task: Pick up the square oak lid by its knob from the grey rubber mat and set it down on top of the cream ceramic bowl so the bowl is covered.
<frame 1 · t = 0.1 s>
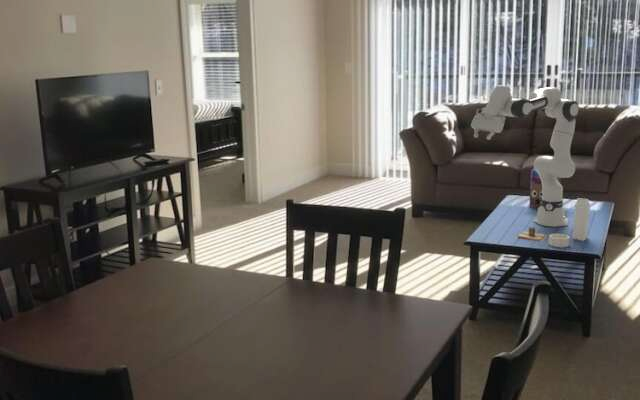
hand: (481, 138, 360), 54 cm above the table, tool tilted 30°, fingers open, 8 cm apart
mat: (531, 237, 372), on the table
cereal box: (544, 207, 438), on the table
bowl: (558, 245, 357), on the table
lid: (531, 236, 372), resting on mat
milk: (580, 239, 369), on the table
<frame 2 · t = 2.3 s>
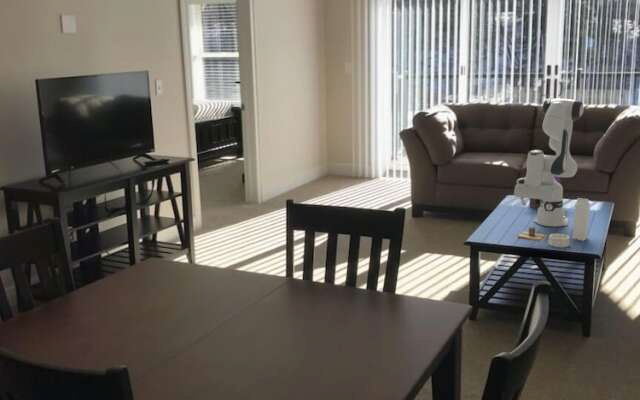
hand: (532, 206, 368), 17 cm above the table, tool pointing down, fingers open, 8 cm apart
nothing on the table moved.
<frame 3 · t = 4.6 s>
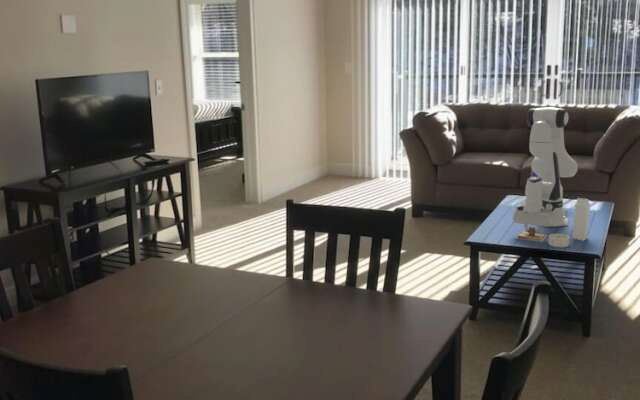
hand: (531, 232, 371), 3 cm above the table, tool pointing down, fingers closed on lid, 3 cm apart
lid: (531, 236, 372), resting on mat, touching gripper
everything else where it was.
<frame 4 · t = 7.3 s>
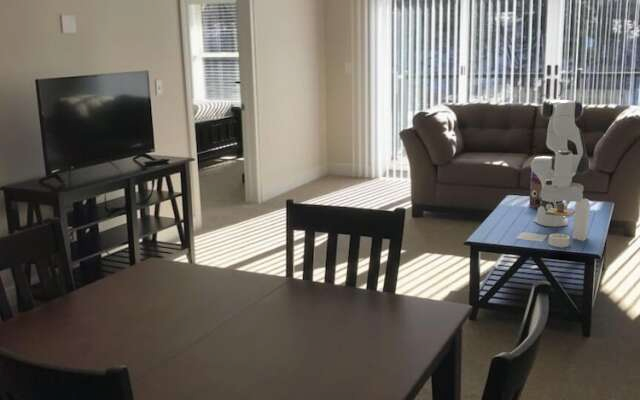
hand: (560, 208, 353), 20 cm above the table, tool pointing down, fingers closed on lid, 3 cm apart
lid: (560, 213, 353), point 17 cm above the table, touching gripper
everything else where it was.
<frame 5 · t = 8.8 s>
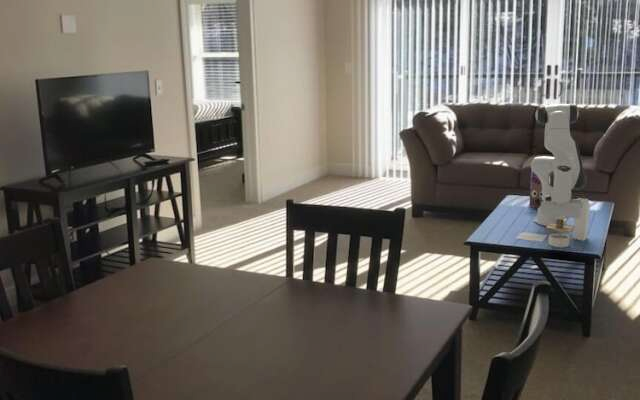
hand: (560, 224, 355), 11 cm above the table, tool pointing down, fingers closed on lid, 3 cm apart
lid: (559, 229, 355), point 9 cm above the table, touching gripper
everything else where it was.
when the fingers open (9 cm above the table, at t = 9.9 s): lid drops 1 cm, resting on bowl.
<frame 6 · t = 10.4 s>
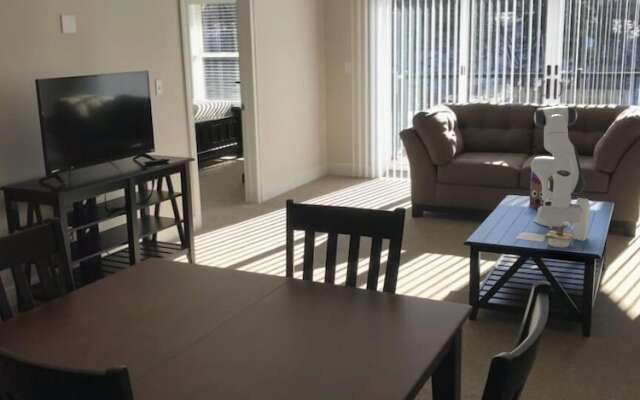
hand: (559, 228, 355), 9 cm above the table, tool pointing down, fingers open, 8 cm apart
bowl: (558, 245, 357), on the table, touching lid
lid: (559, 236, 356), point 5 cm above the table, touching bowl
everything else where it was.
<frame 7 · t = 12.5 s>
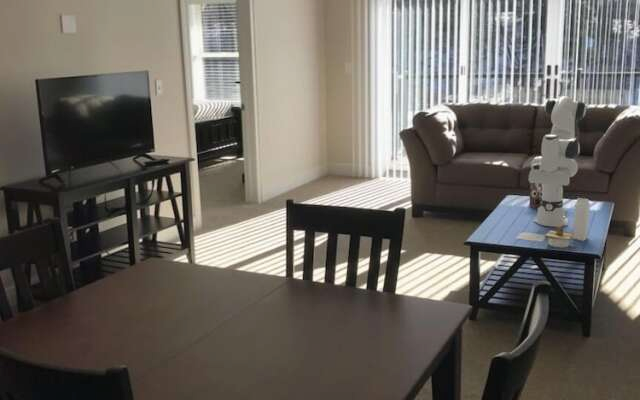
hand: (548, 192, 359), 26 cm above the table, tool pointing down, fingers open, 8 cm apart
nothing on the table moved.
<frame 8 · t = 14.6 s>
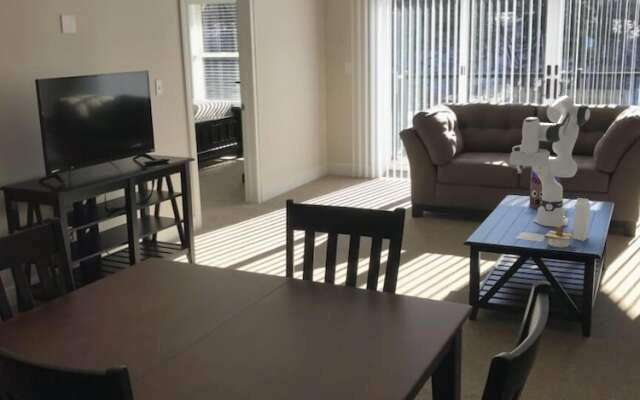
hand: (528, 174, 368), 34 cm above the table, tool pointing down, fingers open, 8 cm apart
nothing on the table moved.
at the end: lid 0.4 cm off-centre on the bowl, point 5.0 cm above the bowl's base; the gripper is holding nothing; bowl tilted 0° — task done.
